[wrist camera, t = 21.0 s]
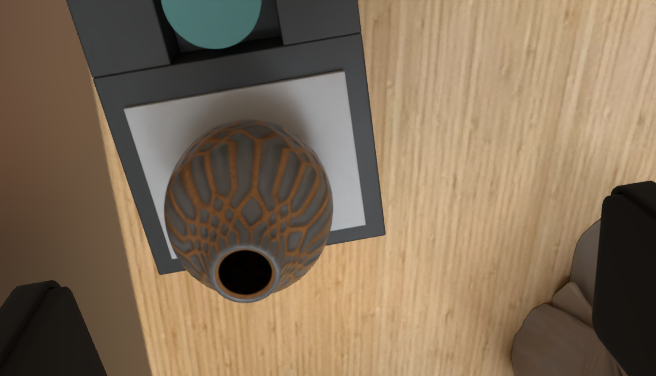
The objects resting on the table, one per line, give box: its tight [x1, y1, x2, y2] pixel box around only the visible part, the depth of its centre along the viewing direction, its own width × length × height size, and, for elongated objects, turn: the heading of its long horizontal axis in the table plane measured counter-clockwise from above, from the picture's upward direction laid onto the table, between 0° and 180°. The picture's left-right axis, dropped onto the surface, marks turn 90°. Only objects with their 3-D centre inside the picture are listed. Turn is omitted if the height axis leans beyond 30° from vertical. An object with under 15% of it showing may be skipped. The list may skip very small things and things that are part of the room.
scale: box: [66, 0, 386, 275], centre depth 27 cm, size 16×12×3 cm
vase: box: [164, 120, 333, 303], centre depth 22 cm, size 7×7×9 cm
